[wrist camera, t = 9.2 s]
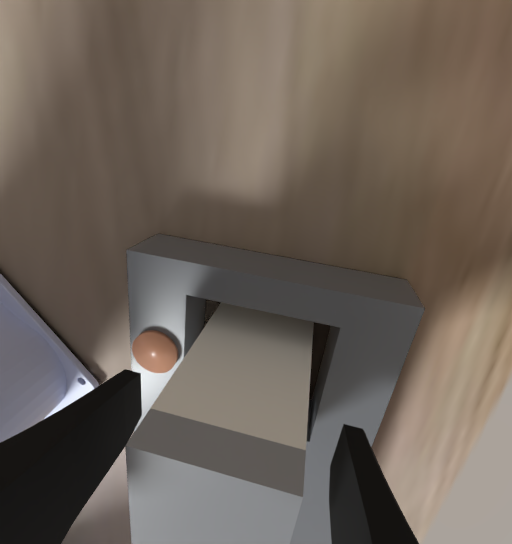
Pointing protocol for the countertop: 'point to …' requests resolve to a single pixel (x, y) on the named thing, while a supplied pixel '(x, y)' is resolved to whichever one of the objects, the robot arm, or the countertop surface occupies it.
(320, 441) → the socket board
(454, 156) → the countertop surface
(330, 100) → the countertop surface
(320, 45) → the countertop surface
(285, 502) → the plug
